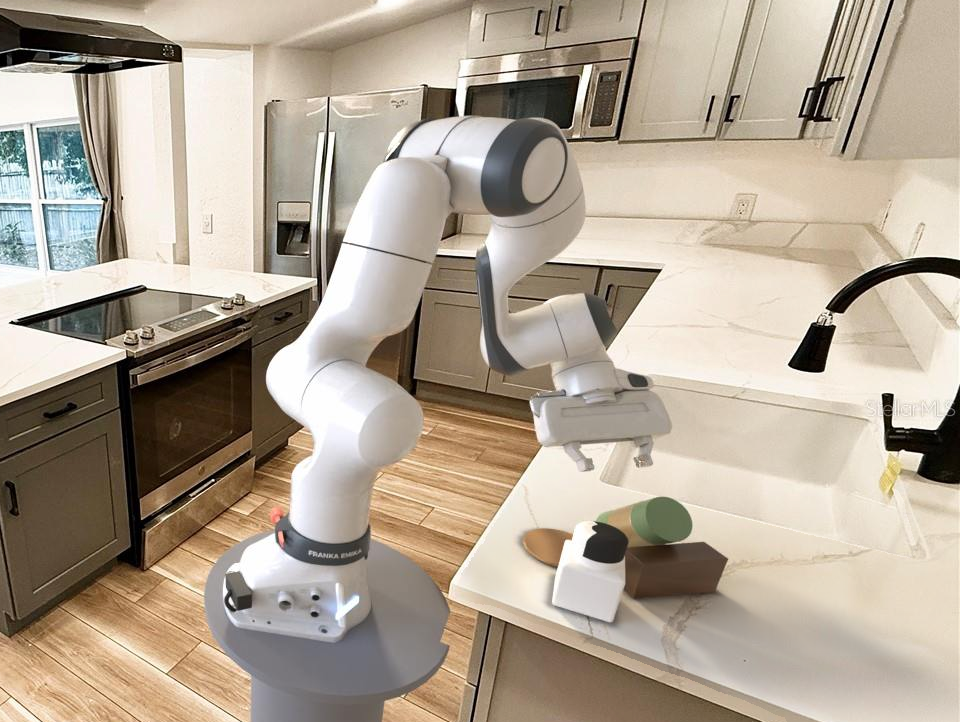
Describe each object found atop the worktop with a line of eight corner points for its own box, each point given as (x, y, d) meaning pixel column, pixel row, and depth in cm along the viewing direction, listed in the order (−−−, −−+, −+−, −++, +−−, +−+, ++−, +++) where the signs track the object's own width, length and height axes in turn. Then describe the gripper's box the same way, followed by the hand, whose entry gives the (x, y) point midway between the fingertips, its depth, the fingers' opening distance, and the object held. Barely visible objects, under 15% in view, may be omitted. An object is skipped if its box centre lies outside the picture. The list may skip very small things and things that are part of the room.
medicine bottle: (612, 593, 88) (634, 524, 83) (612, 624, 83) (636, 552, 78) (555, 576, 92) (573, 510, 87) (551, 605, 87) (570, 535, 82)
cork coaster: (541, 569, 94) (542, 566, 93) (512, 531, 103) (512, 528, 102) (610, 570, 93) (611, 567, 92) (574, 531, 102) (575, 528, 102)
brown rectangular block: (569, 540, 100) (577, 509, 97) (641, 535, 100) (651, 504, 98) (633, 598, 87) (644, 565, 85) (715, 592, 87) (728, 558, 85)
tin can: (582, 536, 100) (600, 471, 95) (621, 533, 101) (641, 468, 96) (639, 586, 89) (663, 516, 84) (683, 583, 89) (710, 512, 84)
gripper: (537, 385, 98) (564, 468, 93) (661, 376, 99) (694, 458, 94) (516, 399, 104) (540, 478, 99) (633, 391, 105) (663, 469, 100)
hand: (616, 468), depth 96 cm, fingers open, 8 cm apart
